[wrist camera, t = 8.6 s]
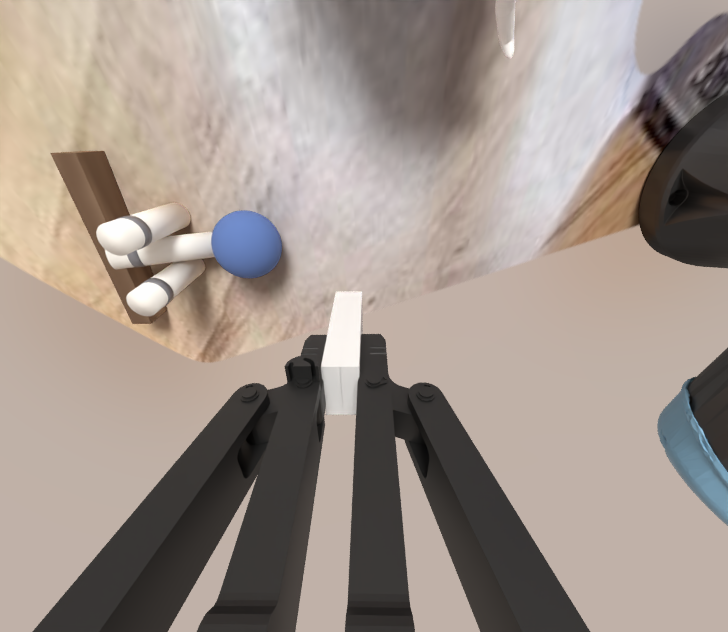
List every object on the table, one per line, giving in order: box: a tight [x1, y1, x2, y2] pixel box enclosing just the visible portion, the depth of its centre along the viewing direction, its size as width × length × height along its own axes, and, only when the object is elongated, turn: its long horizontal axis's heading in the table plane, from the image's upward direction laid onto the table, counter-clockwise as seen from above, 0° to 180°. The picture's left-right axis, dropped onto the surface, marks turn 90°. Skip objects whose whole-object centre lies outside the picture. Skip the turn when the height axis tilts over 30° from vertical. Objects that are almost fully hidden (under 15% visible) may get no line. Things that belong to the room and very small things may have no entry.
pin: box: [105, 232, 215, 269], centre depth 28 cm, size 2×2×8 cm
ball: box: [211, 211, 282, 278], centre depth 27 cm, size 6×6×6 cm
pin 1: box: [96, 202, 191, 256], centre depth 25 cm, size 2×2×8 cm
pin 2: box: [126, 259, 205, 316], centre depth 28 cm, size 2×2×8 cm
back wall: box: [51, 151, 167, 324], centre depth 29 cm, size 2×16×3 cm, turn 0°
